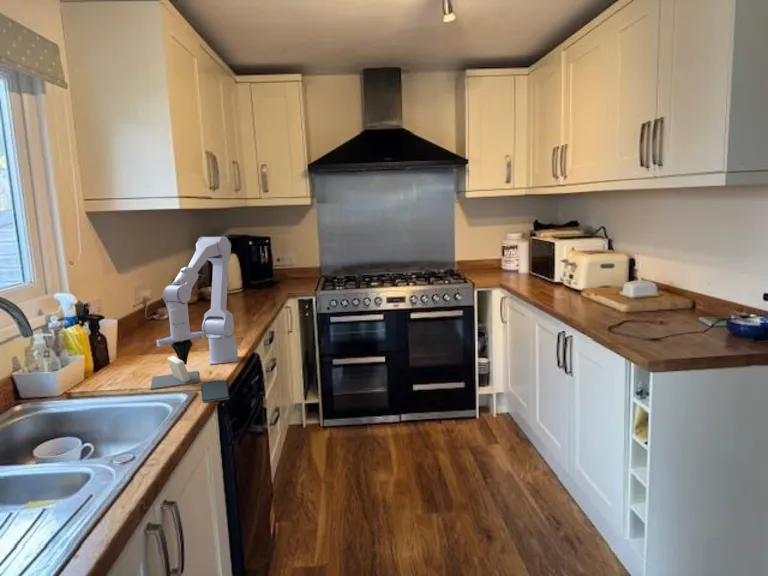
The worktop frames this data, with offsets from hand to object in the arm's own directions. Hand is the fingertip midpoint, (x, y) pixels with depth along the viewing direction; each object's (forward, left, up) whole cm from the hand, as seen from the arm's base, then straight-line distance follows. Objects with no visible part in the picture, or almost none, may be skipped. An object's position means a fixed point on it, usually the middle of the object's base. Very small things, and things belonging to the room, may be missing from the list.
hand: (183, 364), depth 171 cm
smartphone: (-8, +17, -6) cm, 20 cm away
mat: (+3, 0, -5) cm, 6 cm away
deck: (+1, 0, -4) cm, 4 cm away
